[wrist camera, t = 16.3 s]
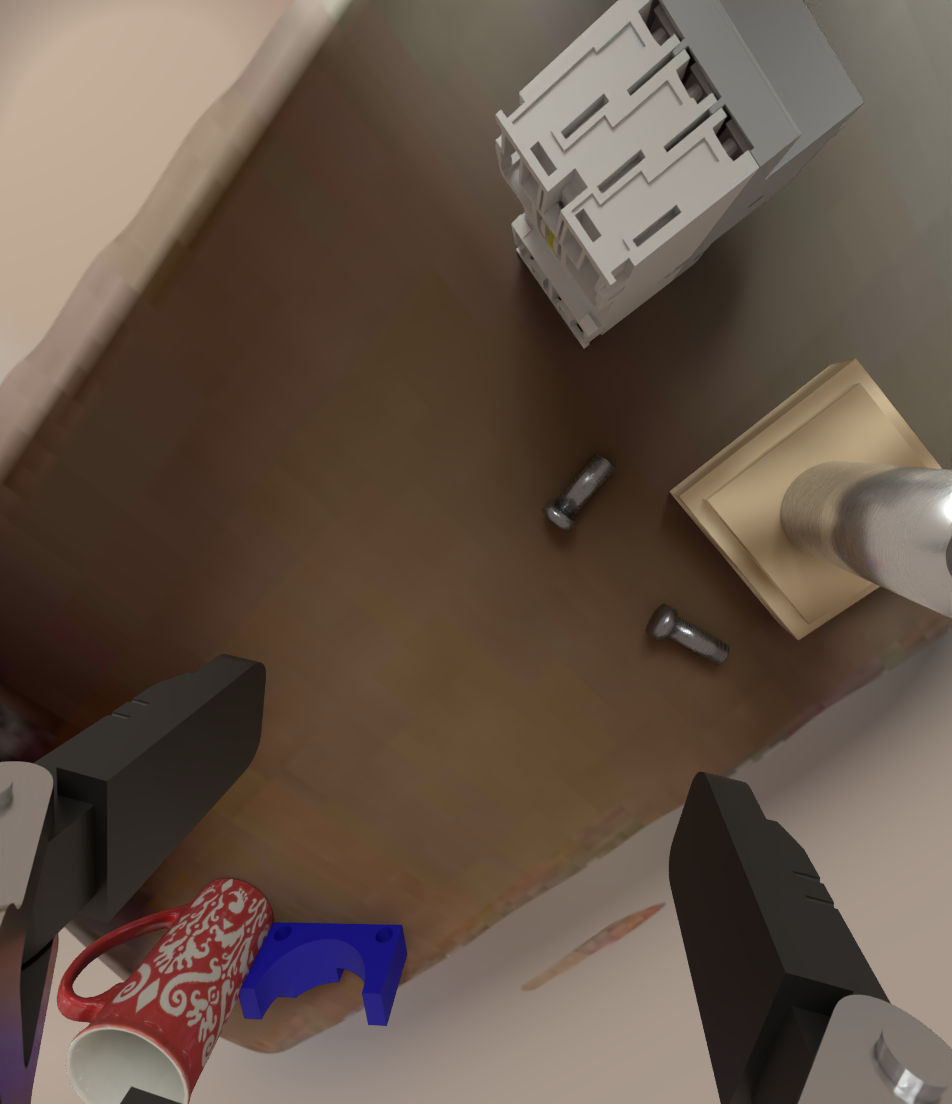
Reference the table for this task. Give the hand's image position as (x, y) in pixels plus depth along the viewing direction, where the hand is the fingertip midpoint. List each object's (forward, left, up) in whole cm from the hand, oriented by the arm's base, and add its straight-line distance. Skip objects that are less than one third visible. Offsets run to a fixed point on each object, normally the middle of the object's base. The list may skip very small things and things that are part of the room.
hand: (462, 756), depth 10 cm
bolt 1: (+1, +4, -29) cm, 30 cm away
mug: (+9, -44, -30) cm, 54 cm away
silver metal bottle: (+11, +14, -25) cm, 31 cm away
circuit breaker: (-9, +17, -30) cm, 35 cm away
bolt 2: (+14, +3, -29) cm, 32 cm away
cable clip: (+19, -38, -30) cm, 51 cm away
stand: (+11, +14, -29) cm, 34 cm away
